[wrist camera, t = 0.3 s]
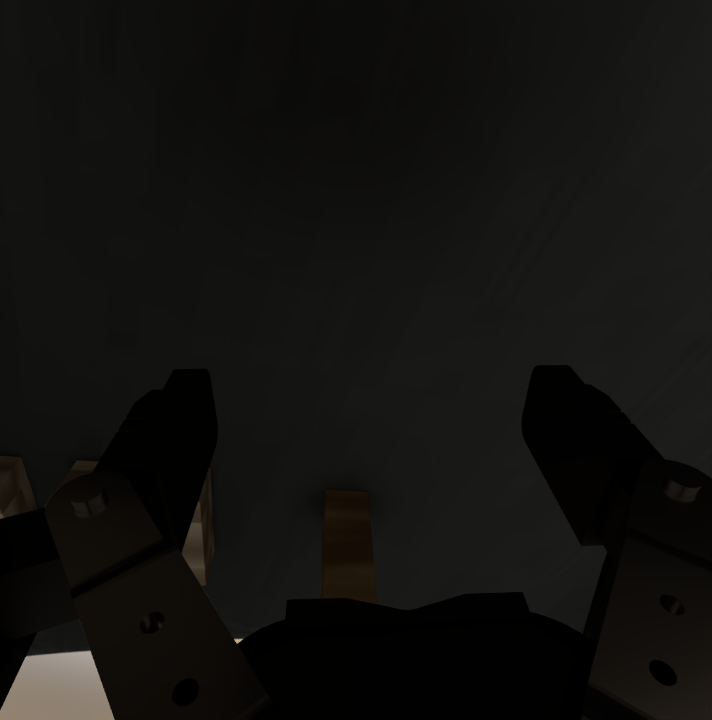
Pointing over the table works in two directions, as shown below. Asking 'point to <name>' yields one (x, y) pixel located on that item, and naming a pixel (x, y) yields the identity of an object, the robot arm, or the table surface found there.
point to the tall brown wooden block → (347, 547)
